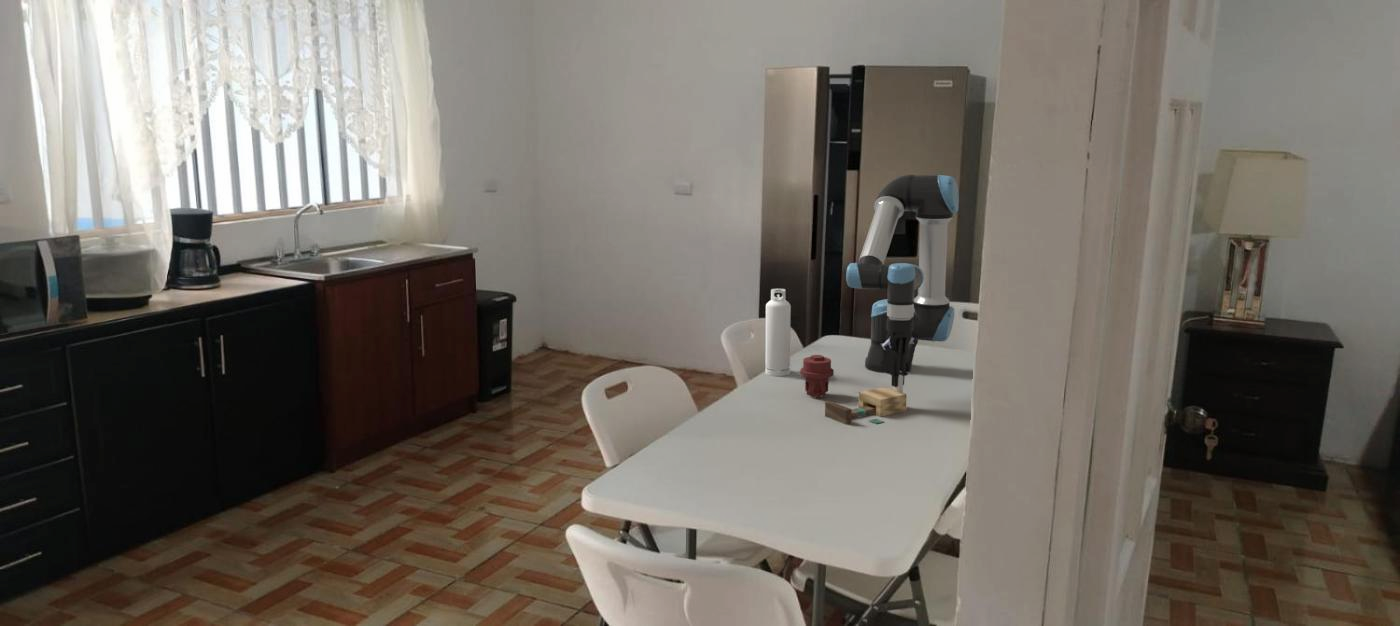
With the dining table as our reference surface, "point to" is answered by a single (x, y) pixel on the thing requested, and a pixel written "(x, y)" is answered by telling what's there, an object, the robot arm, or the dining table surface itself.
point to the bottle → (777, 335)
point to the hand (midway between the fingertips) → (897, 396)
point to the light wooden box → (883, 400)
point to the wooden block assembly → (848, 412)
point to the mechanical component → (816, 375)
